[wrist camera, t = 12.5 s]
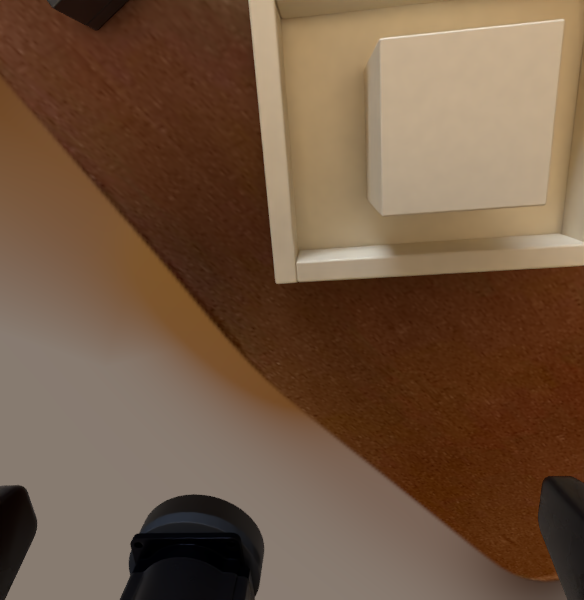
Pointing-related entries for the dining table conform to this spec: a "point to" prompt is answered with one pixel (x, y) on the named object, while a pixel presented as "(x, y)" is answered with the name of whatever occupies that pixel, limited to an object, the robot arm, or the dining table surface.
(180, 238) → the dining table surface
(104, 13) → the charcoal tray
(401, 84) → the cream block
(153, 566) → the robot arm
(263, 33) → the cream tray
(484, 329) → the dining table surface
